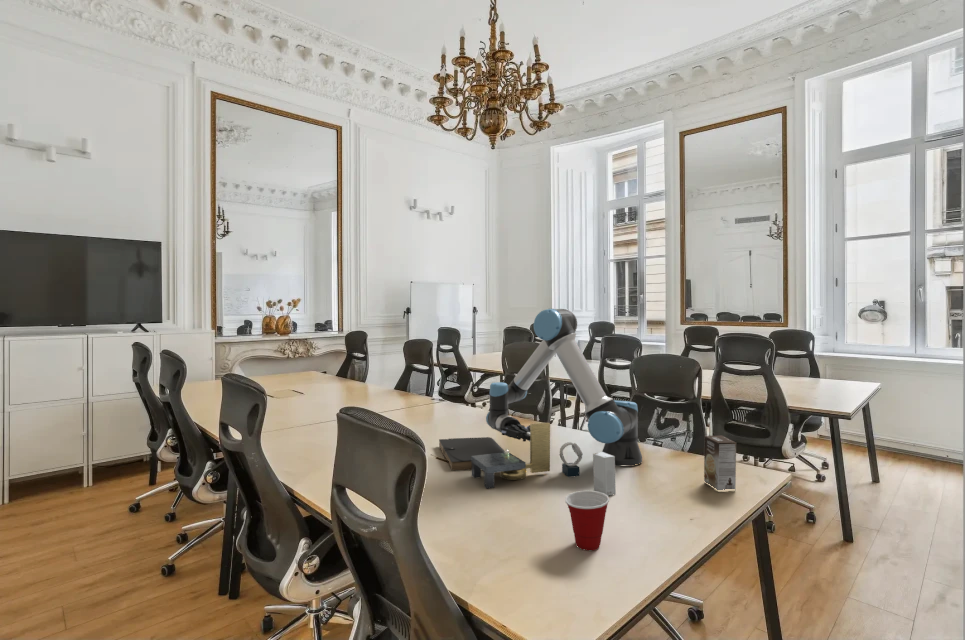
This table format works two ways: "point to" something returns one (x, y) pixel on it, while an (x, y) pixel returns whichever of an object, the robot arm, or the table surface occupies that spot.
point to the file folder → (467, 450)
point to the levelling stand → (494, 465)
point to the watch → (571, 468)
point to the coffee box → (720, 462)
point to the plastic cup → (587, 517)
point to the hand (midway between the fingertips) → (536, 440)
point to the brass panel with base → (534, 453)
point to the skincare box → (604, 473)
